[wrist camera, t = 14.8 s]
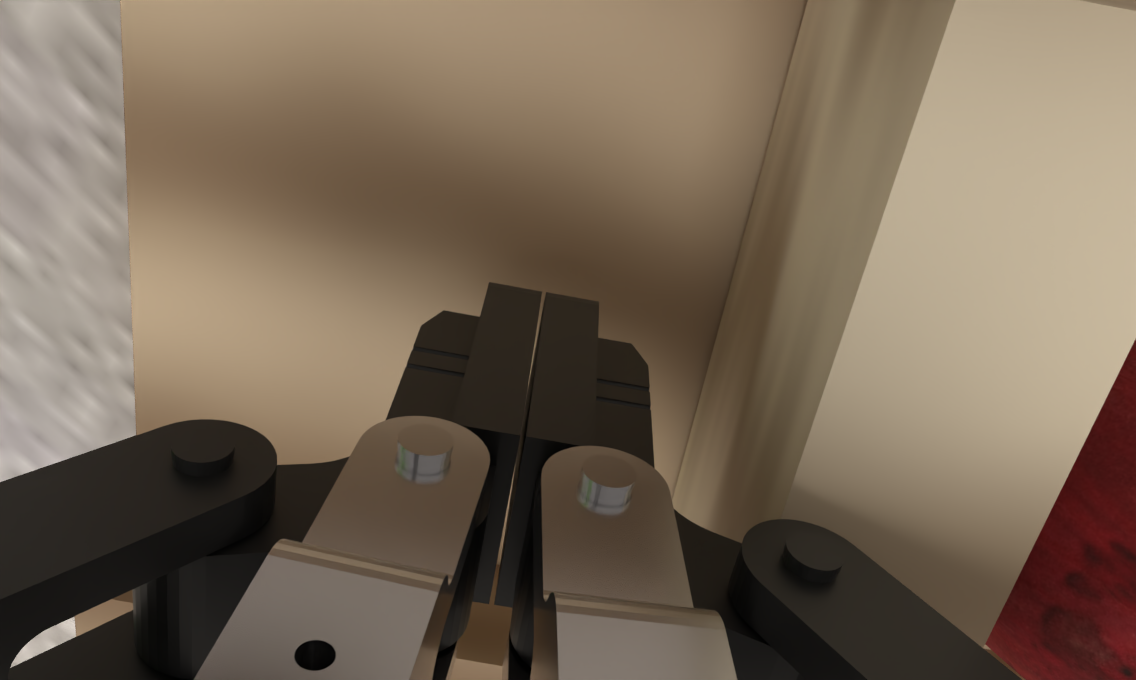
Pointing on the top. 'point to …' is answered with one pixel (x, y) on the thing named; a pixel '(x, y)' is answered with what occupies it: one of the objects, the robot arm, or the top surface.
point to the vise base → (430, 200)
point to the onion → (1083, 562)
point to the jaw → (928, 288)
